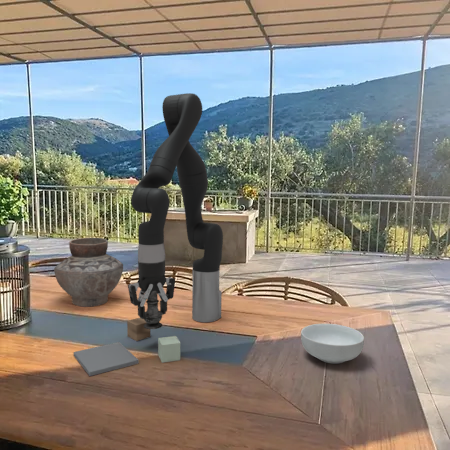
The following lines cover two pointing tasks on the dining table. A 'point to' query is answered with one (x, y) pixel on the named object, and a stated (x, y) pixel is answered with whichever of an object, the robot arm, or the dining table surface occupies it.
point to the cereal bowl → (332, 342)
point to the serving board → (105, 358)
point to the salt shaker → (153, 312)
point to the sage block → (169, 349)
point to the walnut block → (137, 329)
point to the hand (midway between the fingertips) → (152, 315)
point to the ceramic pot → (89, 272)
